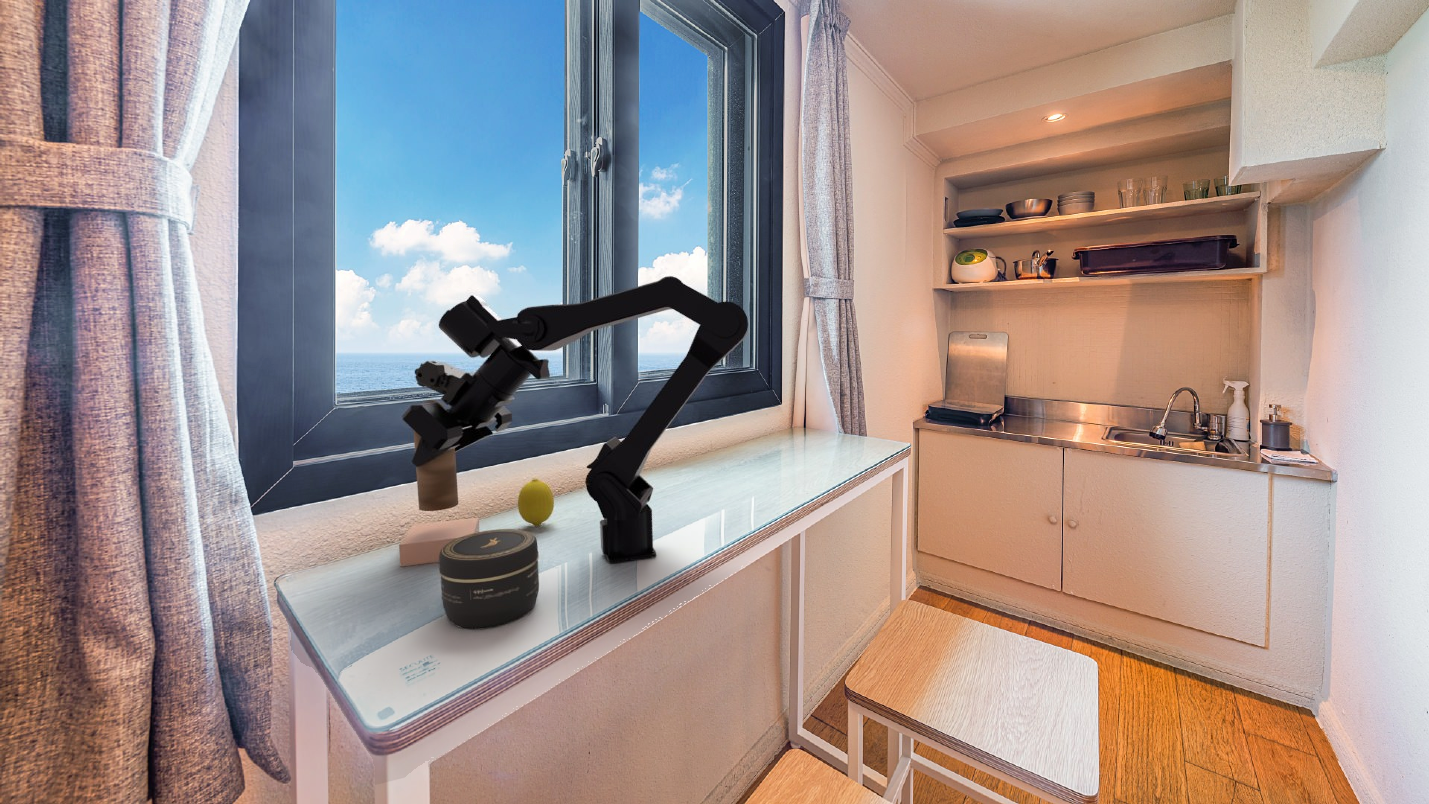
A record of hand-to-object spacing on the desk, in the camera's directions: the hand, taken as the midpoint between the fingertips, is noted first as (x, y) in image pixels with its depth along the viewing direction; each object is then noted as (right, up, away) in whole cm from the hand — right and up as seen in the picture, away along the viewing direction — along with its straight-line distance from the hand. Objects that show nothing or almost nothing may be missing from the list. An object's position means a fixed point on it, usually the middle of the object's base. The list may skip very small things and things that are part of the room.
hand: (427, 460), depth 75 cm
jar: (+16, -15, -17) cm, 28 cm away
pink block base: (+2, -13, +1) cm, 13 cm away
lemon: (+12, -12, +11) cm, 20 cm away
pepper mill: (+1, -7, 0) cm, 7 cm away
